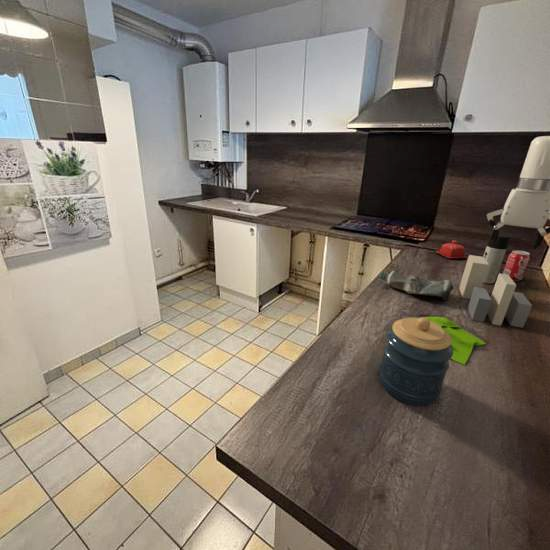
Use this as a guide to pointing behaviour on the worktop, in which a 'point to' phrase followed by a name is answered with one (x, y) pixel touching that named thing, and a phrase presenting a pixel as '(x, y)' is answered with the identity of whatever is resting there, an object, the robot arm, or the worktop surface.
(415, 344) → the canister
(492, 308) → the cream book
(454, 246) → the butter dish
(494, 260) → the spray can
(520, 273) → the soda can
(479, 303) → the pair of grey pillars
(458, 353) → the cloth
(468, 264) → the beige rectangular block
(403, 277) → the crushed plastic bottle
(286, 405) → the worktop surface
